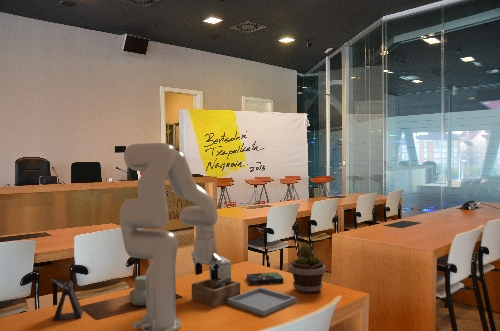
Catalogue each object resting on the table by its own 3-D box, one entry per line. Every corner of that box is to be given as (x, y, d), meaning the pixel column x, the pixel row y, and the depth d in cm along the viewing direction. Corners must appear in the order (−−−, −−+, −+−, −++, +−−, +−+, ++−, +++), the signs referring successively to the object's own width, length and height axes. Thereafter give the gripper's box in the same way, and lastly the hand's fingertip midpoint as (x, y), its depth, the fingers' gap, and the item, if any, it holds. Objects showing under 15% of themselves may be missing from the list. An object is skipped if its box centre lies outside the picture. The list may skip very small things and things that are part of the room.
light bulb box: (209, 281, 182) (208, 257, 181) (223, 279, 184) (222, 255, 184) (217, 288, 172) (216, 263, 172) (232, 286, 175) (231, 261, 175)
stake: (216, 304, 153) (216, 282, 153) (213, 303, 154) (213, 281, 154) (231, 298, 159) (231, 277, 159) (229, 297, 160) (228, 277, 160)
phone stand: (83, 312, 146) (82, 279, 146) (81, 318, 141) (80, 284, 141) (55, 315, 144) (55, 281, 144) (52, 321, 138) (51, 286, 138)
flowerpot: (329, 295, 160) (329, 245, 160) (291, 296, 160) (290, 246, 160) (323, 284, 175) (322, 238, 175) (287, 285, 175) (287, 238, 175)
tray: (263, 316, 140) (263, 310, 140) (227, 304, 153) (227, 298, 153) (296, 302, 153) (296, 297, 153) (260, 292, 166) (260, 287, 166)
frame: (214, 307, 150) (214, 291, 150) (191, 299, 159) (191, 283, 159) (240, 298, 159) (239, 282, 159) (217, 290, 169) (217, 276, 168)
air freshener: (128, 301, 157) (127, 275, 157) (149, 297, 162) (148, 272, 162) (136, 310, 148) (136, 282, 148) (158, 305, 152) (158, 279, 152)
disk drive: (250, 287, 175) (283, 284, 178) (250, 280, 175) (283, 277, 178) (246, 280, 185) (277, 277, 188) (246, 273, 185) (277, 271, 188)
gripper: (184, 233, 166) (185, 274, 167) (212, 239, 154) (213, 283, 155) (198, 230, 172) (200, 270, 173) (226, 235, 160) (228, 278, 161)
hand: (206, 276), depth 164 cm, fingers open, 9 cm apart
